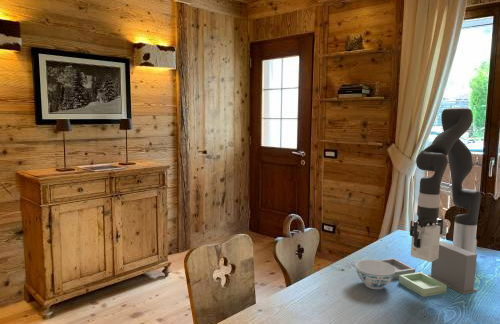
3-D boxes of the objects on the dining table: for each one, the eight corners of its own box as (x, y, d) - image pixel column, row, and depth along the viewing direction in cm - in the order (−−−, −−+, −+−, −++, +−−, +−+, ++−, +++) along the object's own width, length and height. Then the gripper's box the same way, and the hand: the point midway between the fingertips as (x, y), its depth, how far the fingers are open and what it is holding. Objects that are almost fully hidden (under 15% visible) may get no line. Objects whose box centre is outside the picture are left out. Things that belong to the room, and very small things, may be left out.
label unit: (440, 274, 164) (443, 240, 162) (476, 291, 148) (480, 254, 146) (427, 276, 161) (430, 242, 160) (462, 294, 146) (466, 256, 144)
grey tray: (393, 264, 174) (393, 258, 173) (414, 275, 161) (415, 269, 161) (373, 267, 170) (373, 260, 169) (393, 279, 158) (394, 272, 157)
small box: (438, 258, 148) (441, 226, 147) (430, 262, 144) (433, 228, 143) (418, 252, 155) (420, 221, 153) (409, 256, 151) (412, 223, 149)
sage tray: (420, 278, 159) (420, 271, 158) (446, 292, 147) (446, 285, 146) (398, 282, 155) (399, 275, 155) (423, 296, 143) (424, 289, 142)
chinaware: (396, 282, 155) (397, 263, 154) (392, 297, 142) (394, 277, 141) (357, 275, 161) (358, 257, 160) (351, 289, 148) (352, 270, 147)
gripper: (435, 201, 153) (431, 241, 155) (406, 203, 148) (403, 245, 150) (450, 205, 146) (447, 247, 148) (421, 208, 141) (417, 251, 143)
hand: (425, 246), depth 149 cm, fingers closed on small box, 7 cm apart
